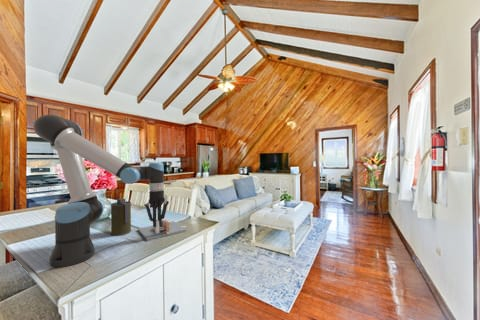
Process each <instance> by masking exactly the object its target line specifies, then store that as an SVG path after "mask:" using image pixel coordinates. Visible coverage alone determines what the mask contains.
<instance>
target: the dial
mask: <svg viewBox="0 0 480 320" xmlns="http://www.w3.org/2000/svg"><path fill="white" fill-rule="evenodd" d="M169 222H170V221H168V220H166V219H162V220H161V226H159V232H161V231H165V232H169V229H170V228H171V224H169ZM153 231H155V227H153Z"/></svg>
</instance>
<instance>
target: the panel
mask: <svg viewBox="0 0 480 320" xmlns="http://www.w3.org/2000/svg"><path fill="white" fill-rule="evenodd" d="M168 222H169V224H171V228H170V229H169V232H165V231H161V232H159V233H155V231H153V225H150V226H149V225H148V226H144V227H138V228H137V231H138V232H139V233H140V235H141V236H142V238H144V239H145V241H147V242H150V241H153V240H157V239H161V238H166V237H169V236H172V235H173V236H174V235H177V234H181V233H185V232H187V229H186V227H187V225H185V226H183V225H180V224H179V223H177V222H175V221H168Z"/></svg>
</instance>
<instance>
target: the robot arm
mask: <svg viewBox="0 0 480 320" xmlns="http://www.w3.org/2000/svg"><path fill="white" fill-rule="evenodd" d="M33 130H34V133H35V134H36V135H37V136H39V138H41V139H43V140H45V141H47V142H49V143H50V147H51V148H52V149H53V150H55V151H56V152H57V156H58V160H59V163H60V166H61V170H62V173H63V176H64V179H65V183H66V186H67V189H68V194H69V196H70V199H69V200H68V202H67V204H63V205H61V206H59V207H58V208H56V210H55V215H54V221H55V222H54V227H55V229H54V230H55V231H54V233H55V234H54V235H55V236H54V237H55V242H54V243H55V244H54V247H53V249H52V252H51V254H50V257H49V266H51V267H53V268H62V267H63V268H64V267H68V266H73V265H74V266H75V265H77V264H80V263H83V262H85V261H87V260H90V259H91V258H92V257H93V256H94V255H95V252H96V251H95V250H96V249H95V246H94V243H93V241H92V239H91V225H92V224H93V223H95V222H97V221H98V220H99V219H100V218H101V216H102V215H103V213H104V205H103V203H102V201H101V200H99V198H98V195H97V193H94V192H92V187H91V185H90V181H89V177H88V174H87V173H88V172H87V170H86V166H85V163H84V160H83V159H85V160H87V161H88V162H90V163H93V164H94V165H95V166H98V167H99V168H101V169H103V170H104V171H106V172H108V173H110V174H112V175H114V176H115V177H117V178H119V179H120V180H121V182H122V183H124V184H127V185H131V184H135V183H137V182H139V181H148V184H149V186H148V188H149V192H148V194H149V196H148V197H149V199H148V201H147V202H146V203H144V204H143V206H144V207H145V209H146V212H147V216H148V219H149V221H150V222H152V226H153V227H155V233H159V226H161V220H165V216H166V212H167V208H168V205H169V203H170V202H169V201H168V200H166V199H165V191H164V190H165V189H164V188H165V187H164V186H165V183H164V182H165V177H164V176H165V170H164V169H165V168H164V163H163V162H149V164H148V165H147V166H143V165H142V166H138V165H137V166H133V165H131V164H129V163H128V162H127V161H124V160H123V159H121V158H119V157H117V156H116V155H114V154H112V153H110V152H109V151H107V150H106V149H104V148H102V147H100V146H99V145H97V144H96V143H94V142H91V141H90V140H89V139H86V138H85V137H84V136H83V130H82V128H81V126H80V125H79V124H78V123H76V122H75V121H73V120H71V119H67V118H64V117H61V116H59V115H56V114H44V115H41V116H39V117H38V118H36V119H35V120H34V123H33ZM150 206H151V207H152V208H150ZM151 209H152V212H151Z"/></svg>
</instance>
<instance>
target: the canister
mask: <svg viewBox="0 0 480 320" xmlns="http://www.w3.org/2000/svg"><path fill="white" fill-rule="evenodd" d="M131 204H132V202H131V201H127V200H126V198H124V197H123V198H122V197H121V198H116V202H113V203H111V204H110V213H111V214H110V215H111V216H110V219H111V220H110V221H111V222H110V229H111V230H110V235H111V236H117V237H118V236H124V235H127V234H129V233H131V232H132V225H131V224H132V220H131V219H132V216H131V215H132V213H131V211H132V208H131V207H132V206H131Z"/></svg>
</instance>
